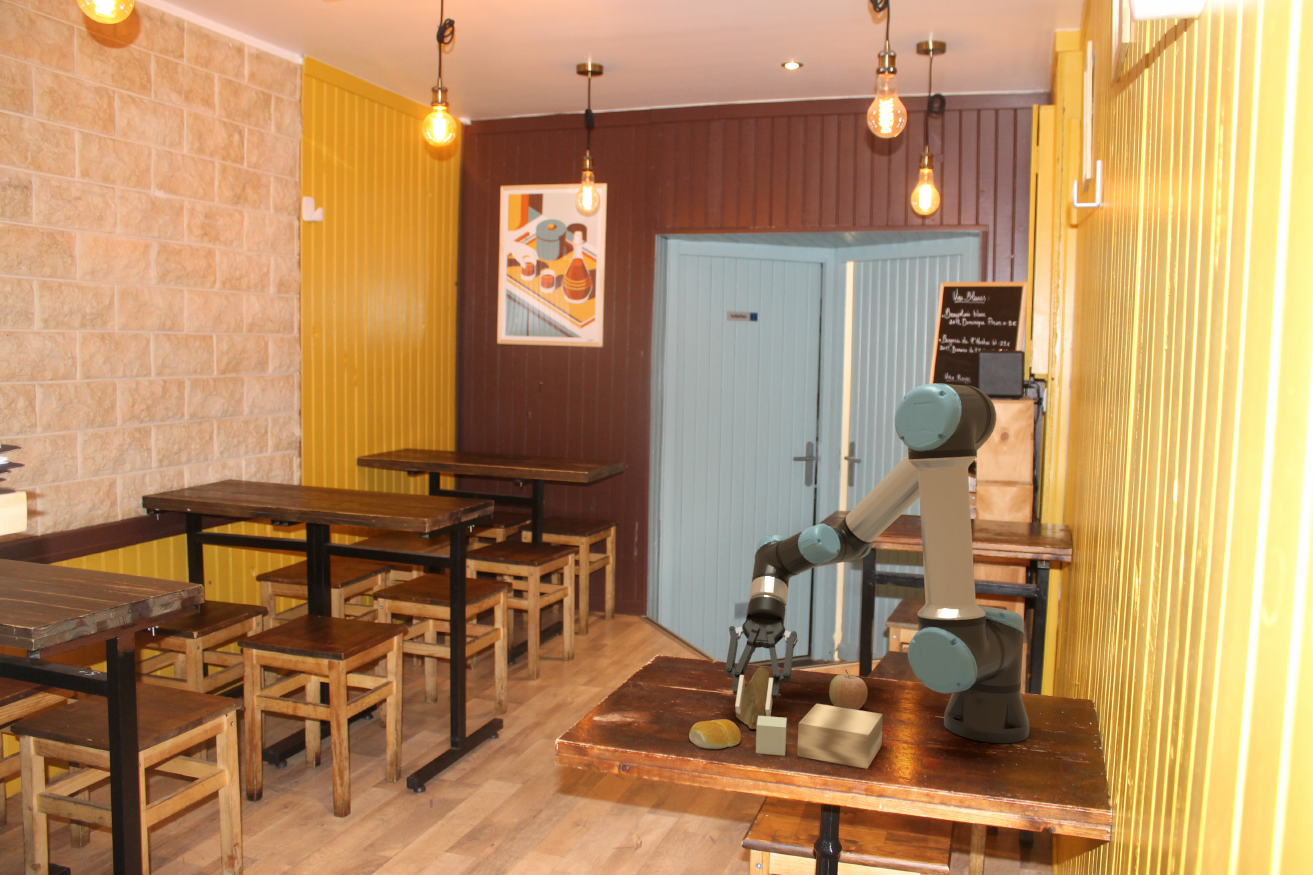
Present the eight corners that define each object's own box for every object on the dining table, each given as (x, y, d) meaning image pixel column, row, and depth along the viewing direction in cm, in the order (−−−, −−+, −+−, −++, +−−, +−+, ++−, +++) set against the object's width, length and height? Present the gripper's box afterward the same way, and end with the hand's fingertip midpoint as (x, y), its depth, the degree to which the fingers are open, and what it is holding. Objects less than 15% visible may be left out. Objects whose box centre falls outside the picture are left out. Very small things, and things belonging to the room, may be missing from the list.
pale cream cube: (785, 745, 171) (786, 717, 171) (784, 755, 166) (785, 727, 166) (757, 743, 172) (758, 715, 172) (755, 753, 167) (756, 724, 167)
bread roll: (749, 744, 171) (750, 722, 171) (708, 753, 166) (709, 730, 166) (721, 730, 178) (721, 708, 178) (681, 738, 173) (681, 716, 173)
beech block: (881, 747, 172) (882, 713, 172) (867, 770, 161) (868, 734, 161) (815, 735, 177) (816, 703, 177) (797, 757, 166) (798, 723, 166)
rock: (776, 722, 176) (790, 699, 185) (748, 683, 176) (764, 662, 185) (731, 748, 180) (747, 724, 189) (704, 709, 181) (722, 688, 190)
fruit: (821, 710, 191) (823, 670, 190) (836, 701, 197) (838, 662, 196) (858, 718, 186) (860, 677, 186) (872, 708, 193) (874, 669, 192)
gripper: (812, 618, 195) (802, 725, 179) (725, 611, 199) (707, 716, 184) (811, 597, 189) (800, 706, 174) (721, 591, 194) (702, 696, 178)
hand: (752, 711), depth 179 cm, fingers closed on rock, 5 cm apart
